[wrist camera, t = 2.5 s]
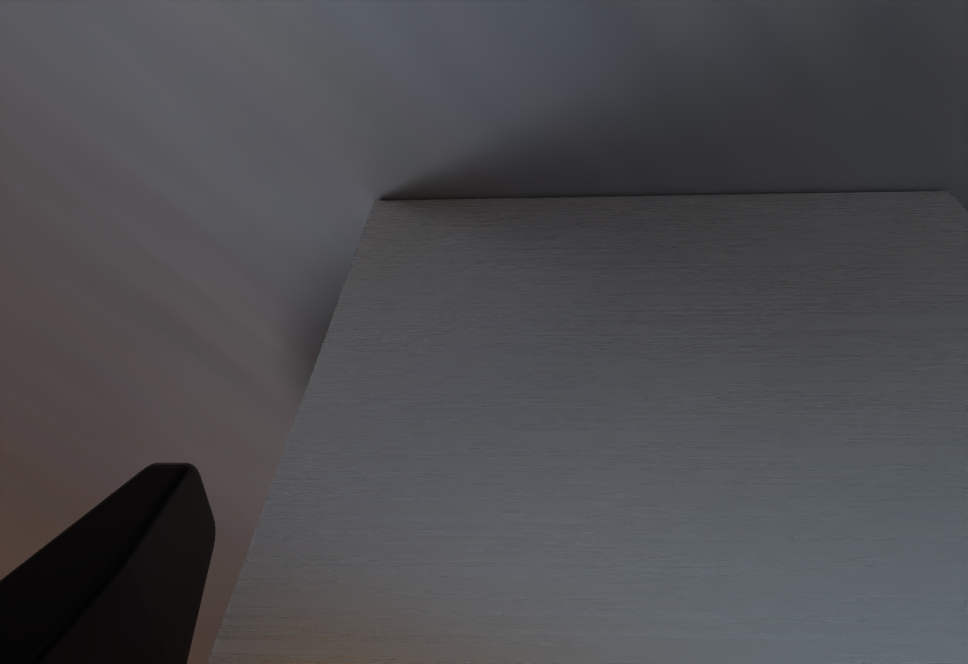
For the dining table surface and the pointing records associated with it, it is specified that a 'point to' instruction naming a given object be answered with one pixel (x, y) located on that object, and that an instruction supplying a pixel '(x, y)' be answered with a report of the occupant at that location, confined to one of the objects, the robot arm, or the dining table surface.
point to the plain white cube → (628, 439)
